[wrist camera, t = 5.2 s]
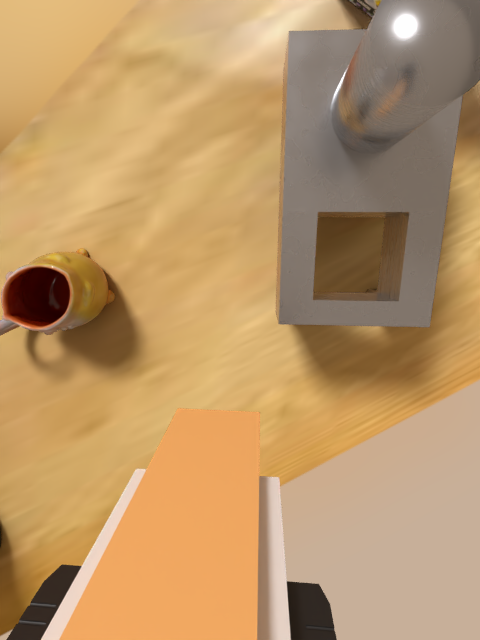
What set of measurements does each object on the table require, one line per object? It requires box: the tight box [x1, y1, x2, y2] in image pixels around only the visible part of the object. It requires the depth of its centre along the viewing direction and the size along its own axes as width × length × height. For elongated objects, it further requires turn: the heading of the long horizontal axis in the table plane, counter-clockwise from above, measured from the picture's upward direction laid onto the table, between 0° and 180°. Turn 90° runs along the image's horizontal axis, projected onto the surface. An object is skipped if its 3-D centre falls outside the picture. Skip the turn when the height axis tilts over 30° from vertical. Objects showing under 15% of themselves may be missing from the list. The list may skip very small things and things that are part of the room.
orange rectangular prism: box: [59, 408, 260, 640], centre depth 9 cm, size 4×4×14 cm
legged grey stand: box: [276, 0, 480, 327], centre depth 21 cm, size 17×10×16 cm, turn 0°
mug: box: [0, 248, 115, 336], centre depth 29 cm, size 12×7×7 cm, turn 116°
